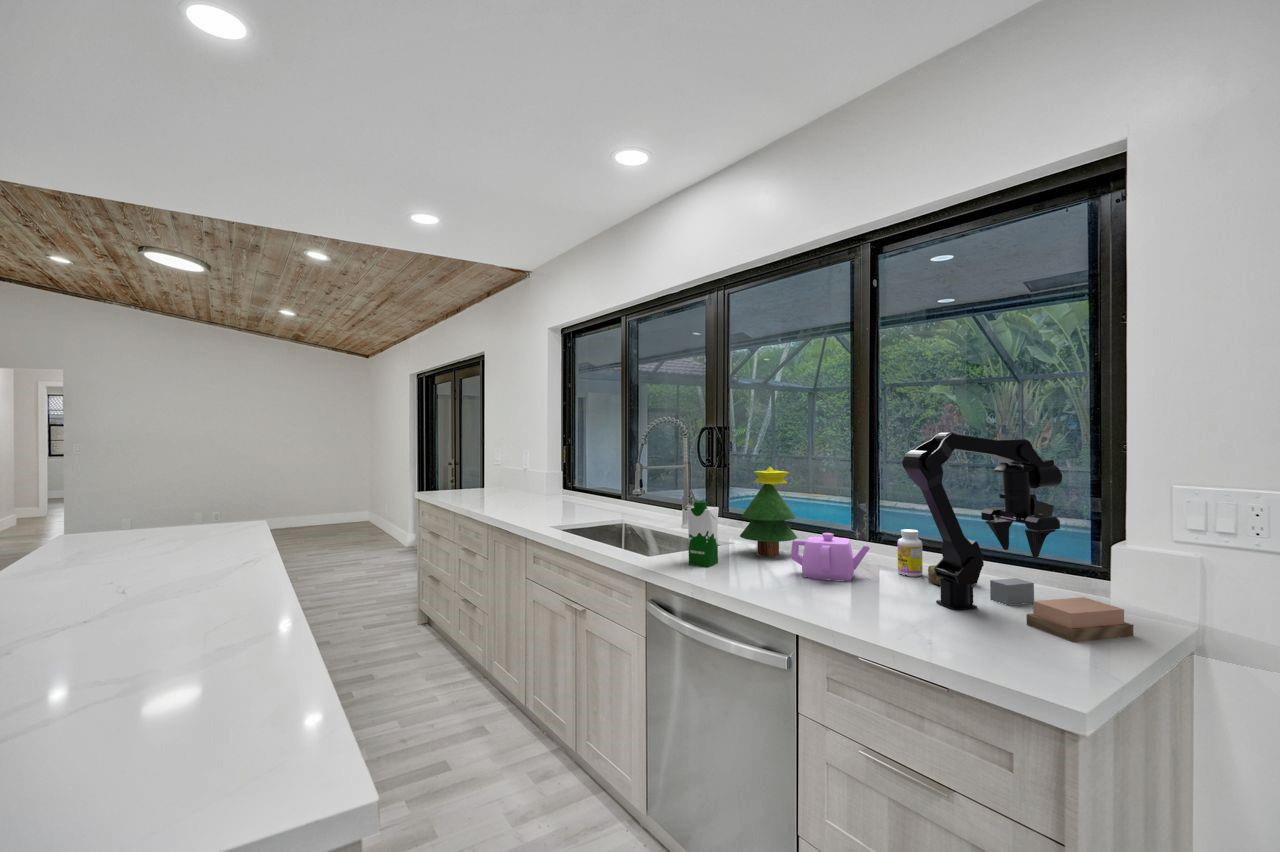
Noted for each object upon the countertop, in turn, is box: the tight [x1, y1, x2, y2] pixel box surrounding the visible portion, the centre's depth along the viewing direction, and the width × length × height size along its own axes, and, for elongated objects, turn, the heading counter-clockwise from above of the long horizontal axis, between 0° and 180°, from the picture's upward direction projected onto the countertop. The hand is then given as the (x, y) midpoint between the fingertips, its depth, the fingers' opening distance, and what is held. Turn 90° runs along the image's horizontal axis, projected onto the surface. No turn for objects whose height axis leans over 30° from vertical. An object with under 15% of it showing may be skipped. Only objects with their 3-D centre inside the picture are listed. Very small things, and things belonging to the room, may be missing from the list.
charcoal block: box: [989, 577, 1035, 606], centre depth 147 cm, size 8×5×5 cm, turn 104°
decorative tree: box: [739, 466, 798, 558], centre depth 204 cm, size 19×19×30 cm
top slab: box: [1032, 596, 1125, 628], centre depth 126 cm, size 13×9×3 cm
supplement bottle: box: [897, 528, 923, 577], centre depth 175 cm, size 7×7×13 cm
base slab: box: [1025, 613, 1134, 643], centre depth 126 cm, size 15×11×3 cm
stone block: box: [927, 564, 974, 586], centre depth 165 cm, size 6×12×5 cm, turn 93°
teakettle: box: [790, 532, 871, 582], centre depth 175 cm, size 17×17×12 cm
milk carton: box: [686, 500, 720, 568], centre depth 191 cm, size 9×9×20 cm
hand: (1020, 553), depth 147 cm, fingers open, 9 cm apart
